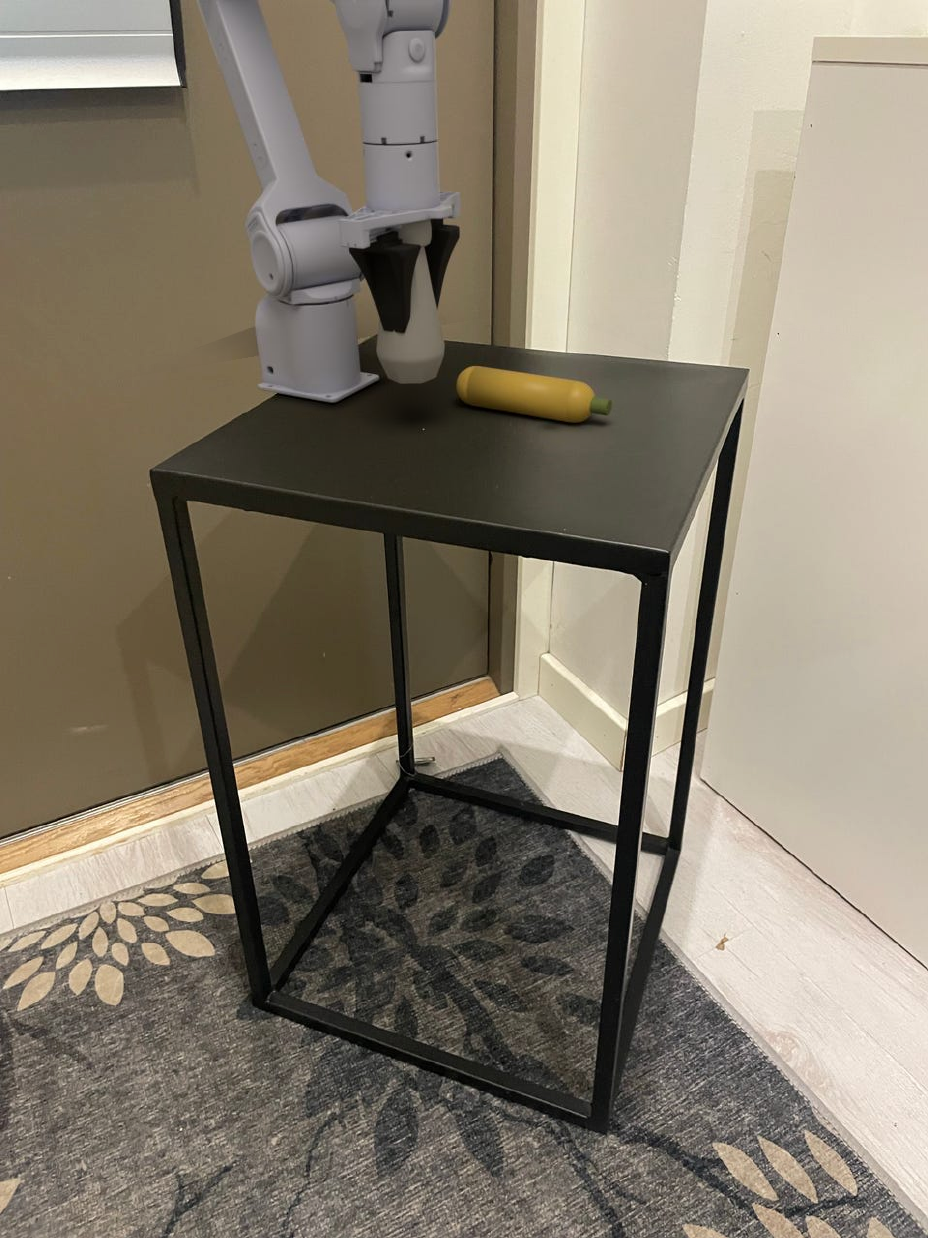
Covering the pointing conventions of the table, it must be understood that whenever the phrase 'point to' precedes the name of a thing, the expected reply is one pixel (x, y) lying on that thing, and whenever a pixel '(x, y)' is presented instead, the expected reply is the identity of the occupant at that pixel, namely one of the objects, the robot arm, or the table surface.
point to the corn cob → (530, 394)
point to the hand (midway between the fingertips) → (409, 324)
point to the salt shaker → (414, 321)
